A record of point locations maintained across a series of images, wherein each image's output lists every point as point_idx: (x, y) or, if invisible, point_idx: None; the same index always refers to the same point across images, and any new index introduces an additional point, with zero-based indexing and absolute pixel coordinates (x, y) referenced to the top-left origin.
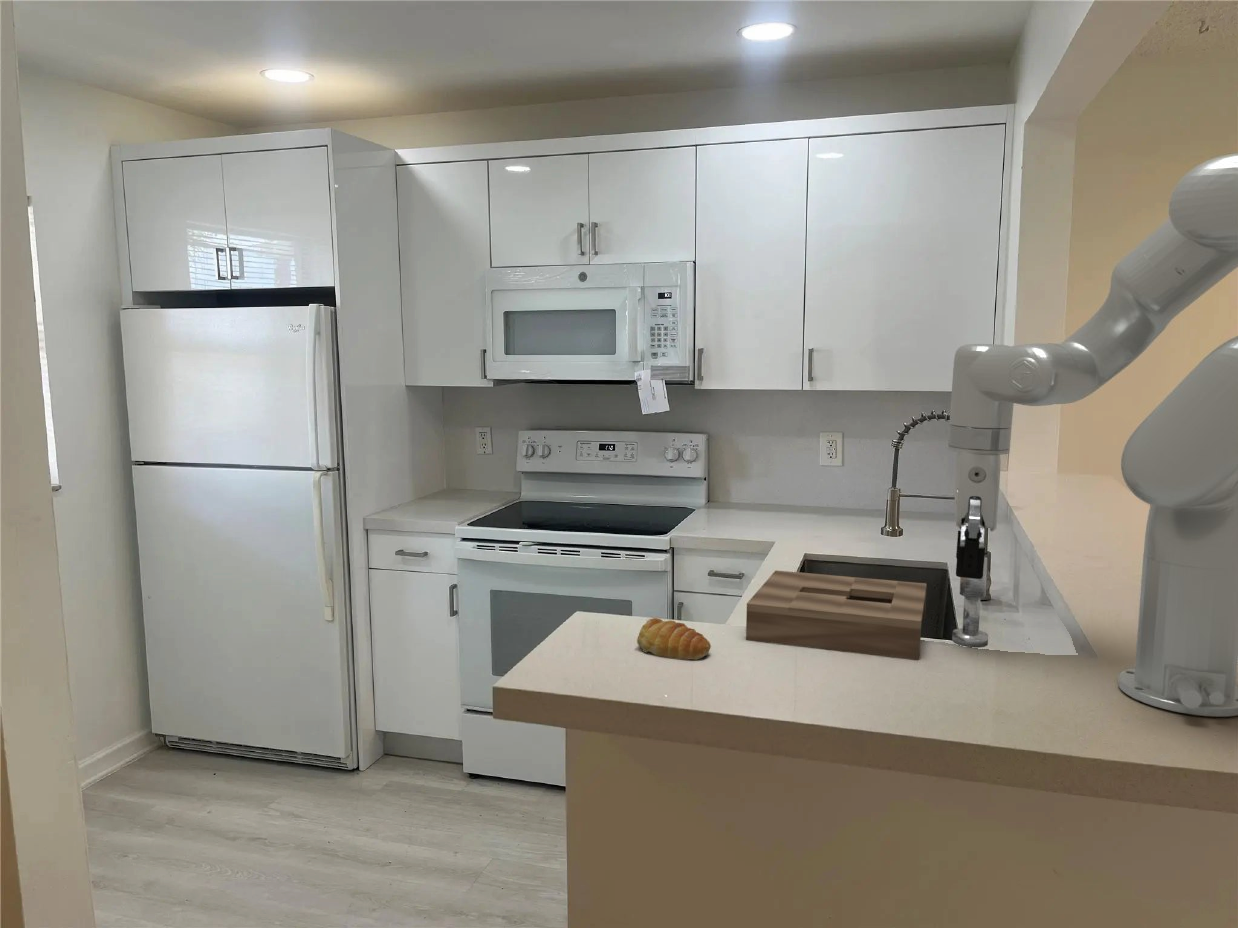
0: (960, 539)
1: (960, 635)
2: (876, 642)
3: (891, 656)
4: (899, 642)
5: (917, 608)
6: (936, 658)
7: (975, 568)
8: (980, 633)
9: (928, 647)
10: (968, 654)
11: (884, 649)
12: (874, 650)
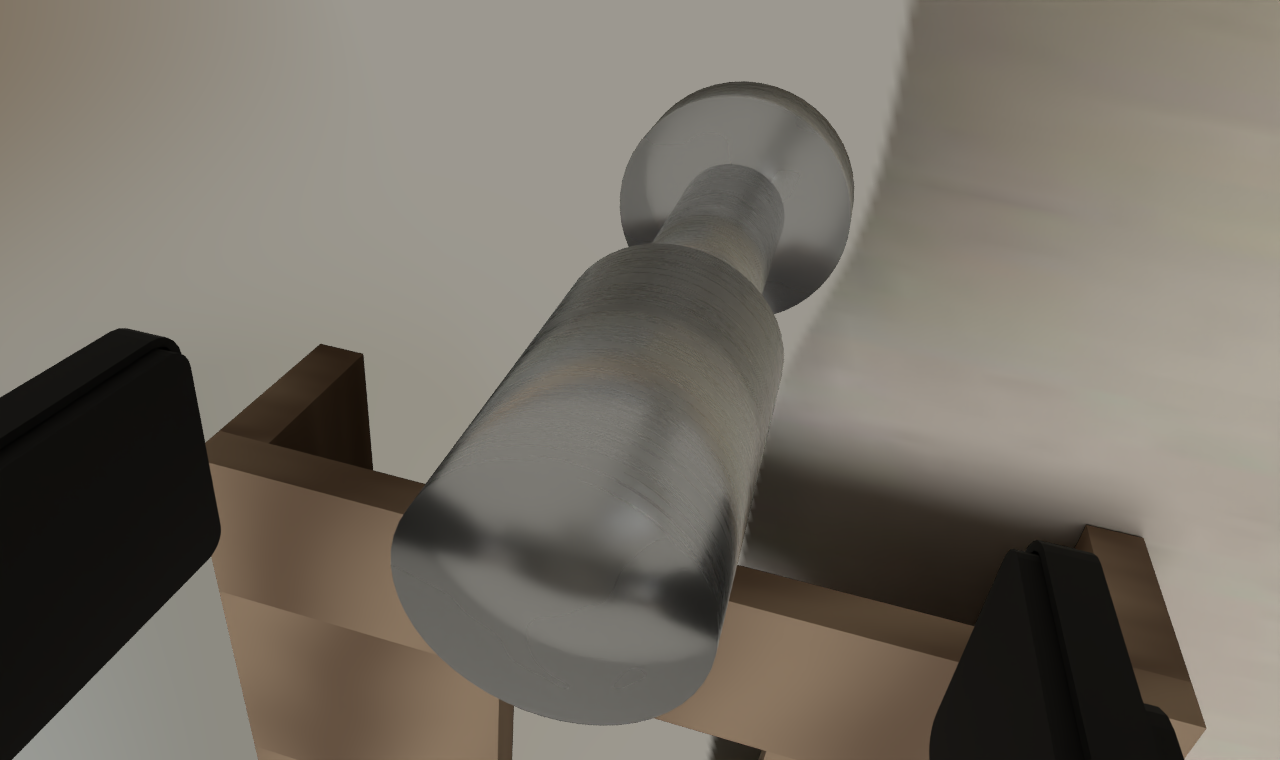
0: (43, 701)
1: (795, 289)
2: None
3: None
4: None
5: (862, 662)
6: (1106, 449)
7: (1168, 749)
8: (718, 146)
9: (892, 443)
10: (1013, 256)
11: None
12: None
